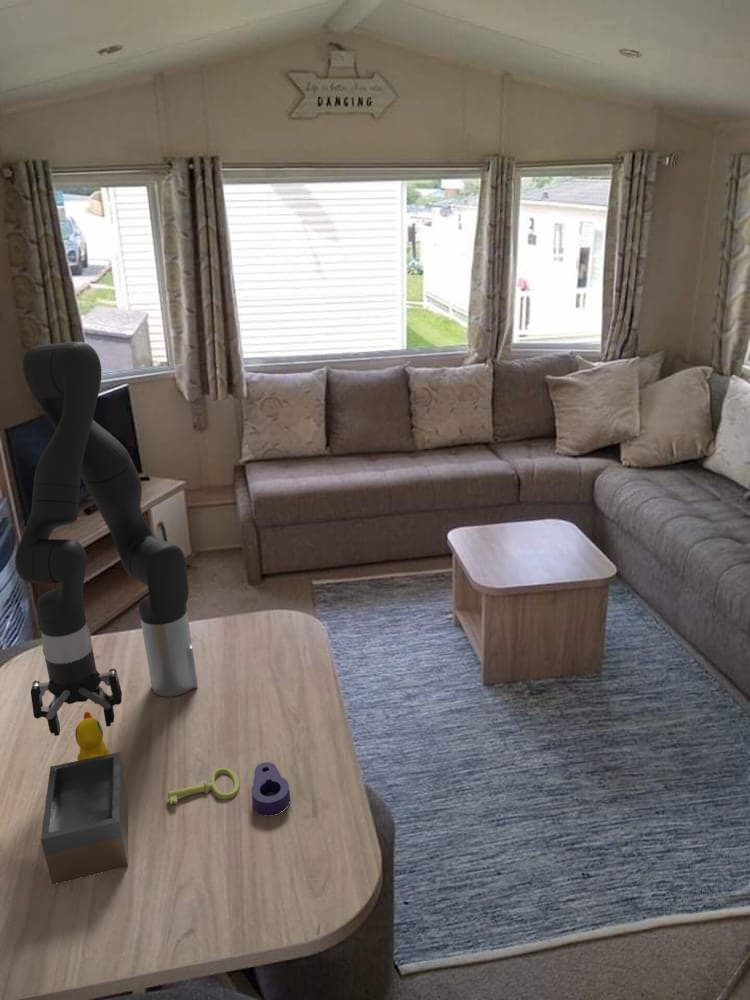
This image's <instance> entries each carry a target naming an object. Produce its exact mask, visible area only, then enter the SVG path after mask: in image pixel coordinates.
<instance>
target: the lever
mask: <svg viewBox="0 0 750 1000" xmlns="http://www.w3.org/2000/svg"><path fill="white" fill-rule="evenodd" d="M265 771H266V772H265ZM267 771H268V772H267ZM253 776H254V777H253V785H251V791H250V792H251V800H252V807H253V810H254V809H255V810H254V811H255V812H256V813H257V814H258V815H260V814H261V816H264V815H268V816H267V817H270V816H269V815H274V816H276V815H275V814H278V813H280V812H281V811H283V810H284V809H285V808H286V807H287V806H288V805H289V806H290V804H289V802H290V803H291V792H290V785H289V784H290V783H289V782H288V781H287V779H286V778H284V777H283V776H281V774H280V772H279V770H278V768H277V766H276V764H275V763H273V762H270V761H264V762H261V763H259V764H258V765H256V766H255V769H254V775H253ZM270 792H271V793H272V794H273V793H274V794H273V795H270V796H268V794H271V793H270ZM289 806H288V807H289ZM283 812H284V811H283ZM280 814H281V813H280ZM278 815H279V814H278Z"/></svg>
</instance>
